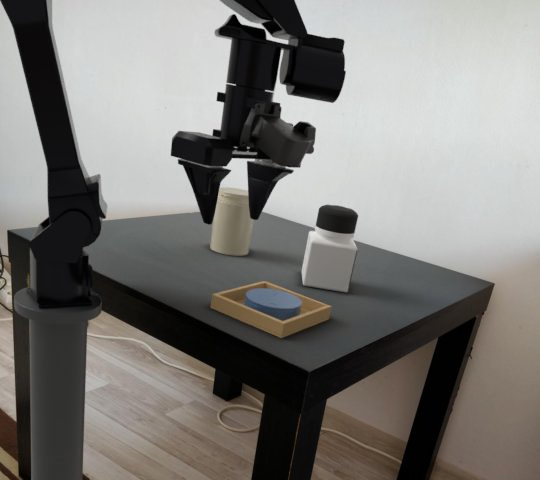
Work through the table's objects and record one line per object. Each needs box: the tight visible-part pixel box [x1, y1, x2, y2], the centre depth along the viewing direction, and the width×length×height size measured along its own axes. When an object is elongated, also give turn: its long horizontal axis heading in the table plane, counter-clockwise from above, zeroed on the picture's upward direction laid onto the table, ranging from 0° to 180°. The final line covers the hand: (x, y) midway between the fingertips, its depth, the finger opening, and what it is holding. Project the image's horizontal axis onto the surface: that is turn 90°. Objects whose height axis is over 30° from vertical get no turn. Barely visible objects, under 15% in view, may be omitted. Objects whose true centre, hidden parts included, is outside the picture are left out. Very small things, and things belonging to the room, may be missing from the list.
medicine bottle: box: [301, 204, 359, 293], centre depth 90 cm, size 7×7×12 cm
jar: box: [209, 186, 255, 257], centre depth 99 cm, size 7×7×10 cm
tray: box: [210, 280, 332, 339], centre depth 75 cm, size 11×11×2 cm
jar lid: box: [244, 288, 302, 321], centre depth 75 cm, size 7×7×2 cm
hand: (231, 221), depth 74 cm, fingers open, 9 cm apart
